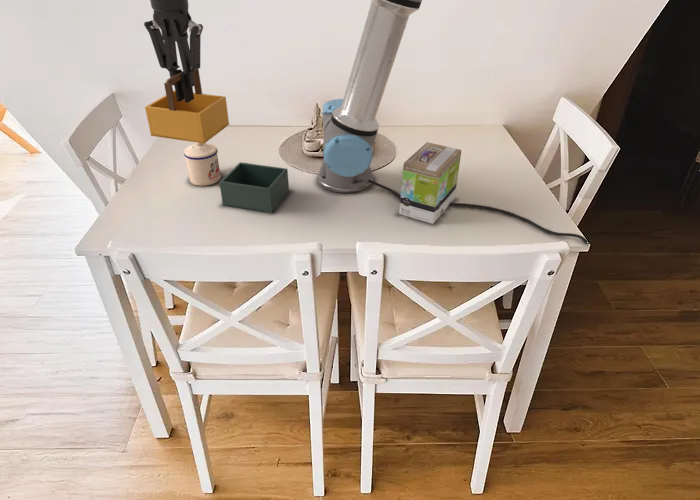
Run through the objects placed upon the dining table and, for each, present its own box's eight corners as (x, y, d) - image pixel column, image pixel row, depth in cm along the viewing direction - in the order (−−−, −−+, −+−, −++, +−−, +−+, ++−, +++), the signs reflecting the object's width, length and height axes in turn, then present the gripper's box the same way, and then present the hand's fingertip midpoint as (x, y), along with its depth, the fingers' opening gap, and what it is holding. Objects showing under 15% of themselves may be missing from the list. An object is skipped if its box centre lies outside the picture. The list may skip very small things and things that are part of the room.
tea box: (434, 225, 134) (440, 171, 125) (398, 215, 138) (401, 162, 129) (455, 199, 145) (462, 148, 136) (421, 190, 149) (425, 140, 140)
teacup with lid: (215, 187, 150) (209, 148, 143) (184, 185, 151) (176, 147, 144) (228, 168, 160) (223, 131, 153) (199, 166, 161) (192, 129, 154)
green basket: (289, 191, 148) (287, 168, 144) (271, 213, 139) (269, 189, 135) (242, 184, 151) (239, 162, 147) (222, 205, 142) (219, 182, 138)
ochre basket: (229, 124, 132) (222, 67, 124) (204, 143, 122) (195, 83, 114) (178, 117, 135) (168, 62, 127) (151, 135, 126) (138, 77, 118)
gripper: (207, -13, 112) (221, 98, 126) (147, -17, 115) (167, 91, 129) (188, -7, 106) (205, 109, 120) (125, -12, 110) (149, 101, 123)
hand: (185, 99), depth 124 cm, fingers closed on ochre basket
